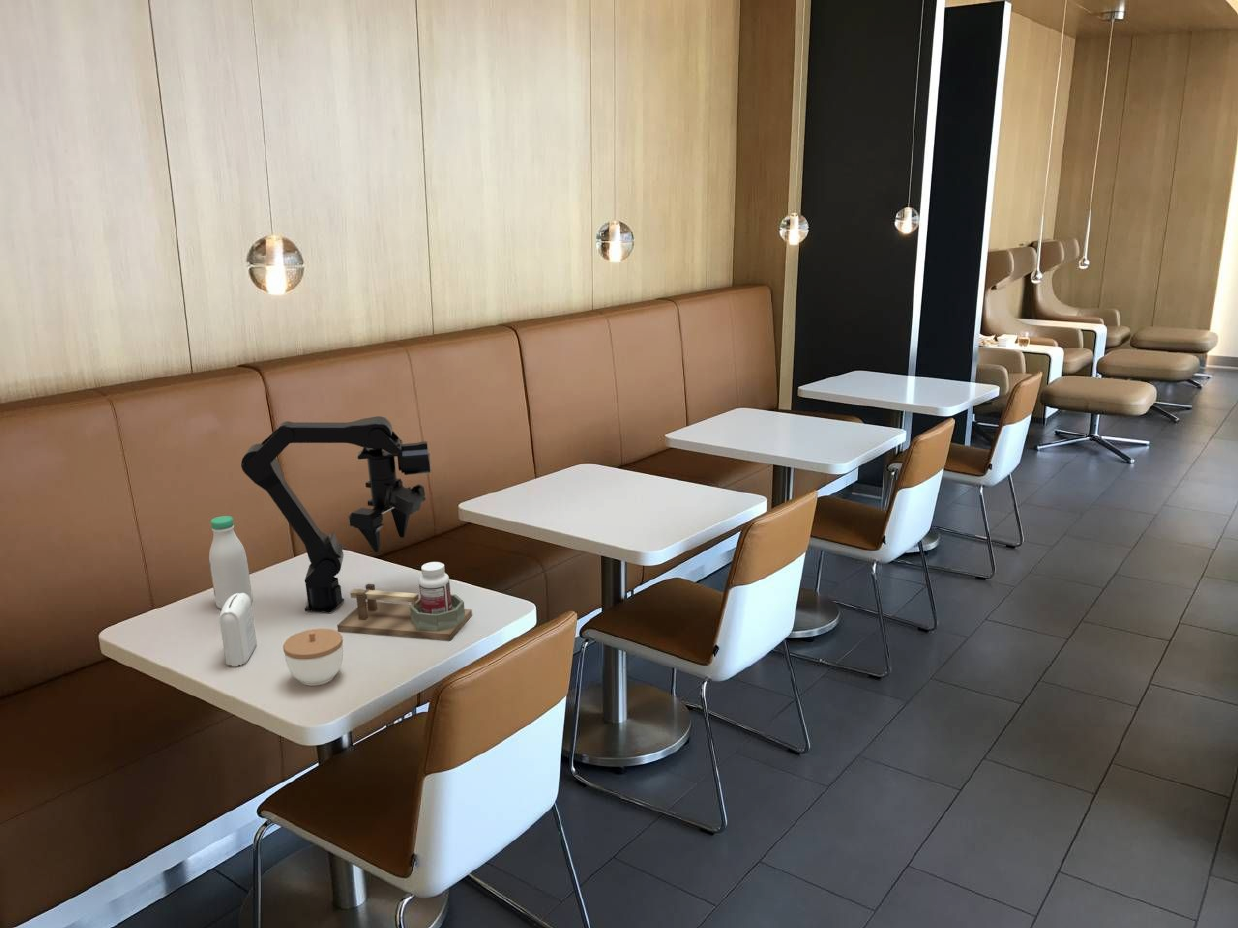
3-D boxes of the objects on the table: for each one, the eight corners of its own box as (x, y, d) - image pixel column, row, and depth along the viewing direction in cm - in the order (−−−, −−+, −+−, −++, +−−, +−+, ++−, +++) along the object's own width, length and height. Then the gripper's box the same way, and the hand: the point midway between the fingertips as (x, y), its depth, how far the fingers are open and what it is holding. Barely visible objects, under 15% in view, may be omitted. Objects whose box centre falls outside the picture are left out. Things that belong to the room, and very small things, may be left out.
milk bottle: (260, 600, 230) (248, 516, 224) (231, 613, 224) (218, 527, 218) (237, 593, 234) (225, 510, 228) (208, 606, 228) (195, 521, 222)
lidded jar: (294, 666, 199) (288, 622, 197) (351, 662, 200) (345, 618, 197) (282, 694, 189) (275, 648, 187) (341, 690, 190) (335, 644, 187)
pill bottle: (436, 606, 218) (431, 558, 215) (458, 612, 215) (454, 563, 212) (415, 617, 213) (411, 568, 210) (438, 623, 210) (434, 573, 207)
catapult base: (337, 631, 214) (333, 599, 212) (364, 607, 225) (361, 576, 223) (450, 640, 208) (447, 607, 206) (472, 615, 219) (469, 584, 217)
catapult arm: (343, 623, 214) (340, 600, 212) (366, 603, 223) (363, 580, 222) (452, 632, 208) (450, 608, 207) (470, 611, 218) (468, 588, 216)
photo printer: (238, 644, 210) (229, 588, 206) (259, 642, 210) (251, 586, 206) (223, 668, 200) (214, 609, 196) (246, 666, 200) (237, 608, 196)
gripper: (388, 493, 209) (395, 564, 213) (438, 467, 225) (444, 534, 229) (343, 488, 213) (351, 558, 218) (396, 463, 229) (403, 528, 234)
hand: (389, 544), depth 224 cm, fingers open, 9 cm apart
